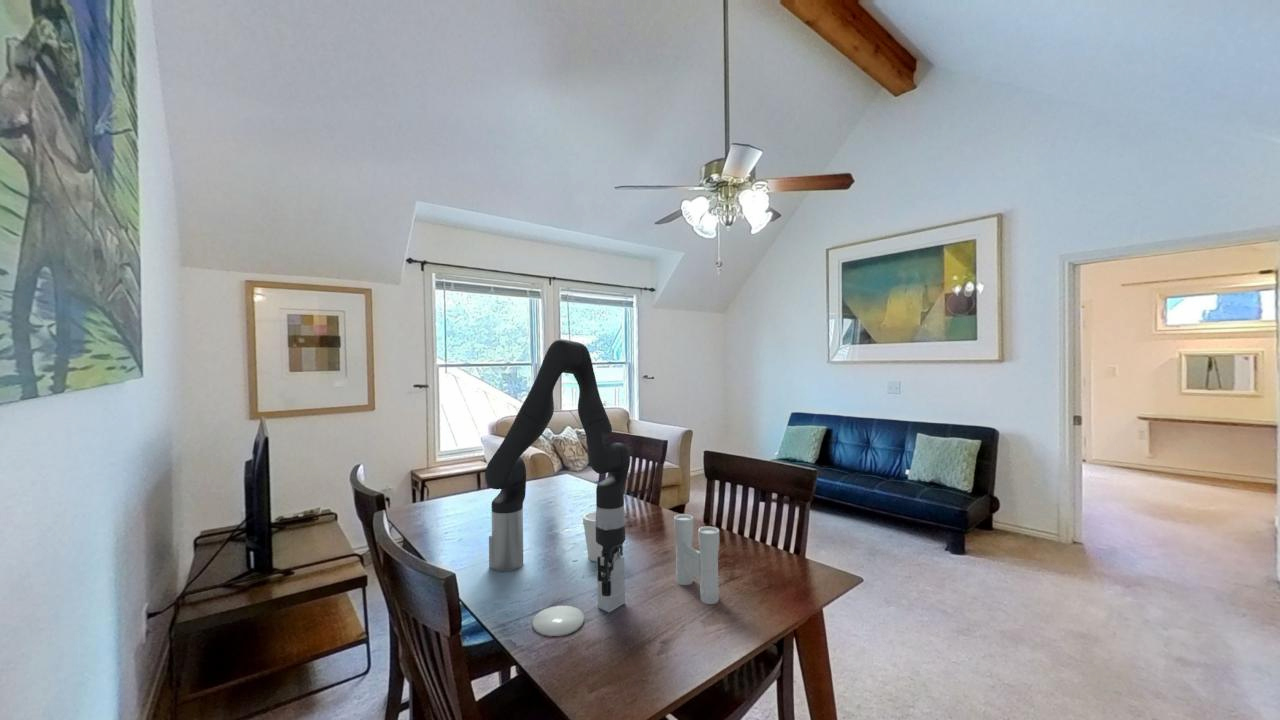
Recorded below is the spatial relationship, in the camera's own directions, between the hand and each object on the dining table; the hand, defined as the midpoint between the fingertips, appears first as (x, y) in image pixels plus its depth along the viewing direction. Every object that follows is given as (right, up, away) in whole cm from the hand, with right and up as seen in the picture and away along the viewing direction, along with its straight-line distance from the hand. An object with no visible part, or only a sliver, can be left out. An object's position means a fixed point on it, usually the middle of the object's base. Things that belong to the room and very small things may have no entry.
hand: (611, 588), depth 120 cm
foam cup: (-6, -5, +30) cm, 31 cm away
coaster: (-12, -5, -7) cm, 15 cm away
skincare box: (0, -5, 0) cm, 5 cm away
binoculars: (+23, -5, +8) cm, 24 cm away
